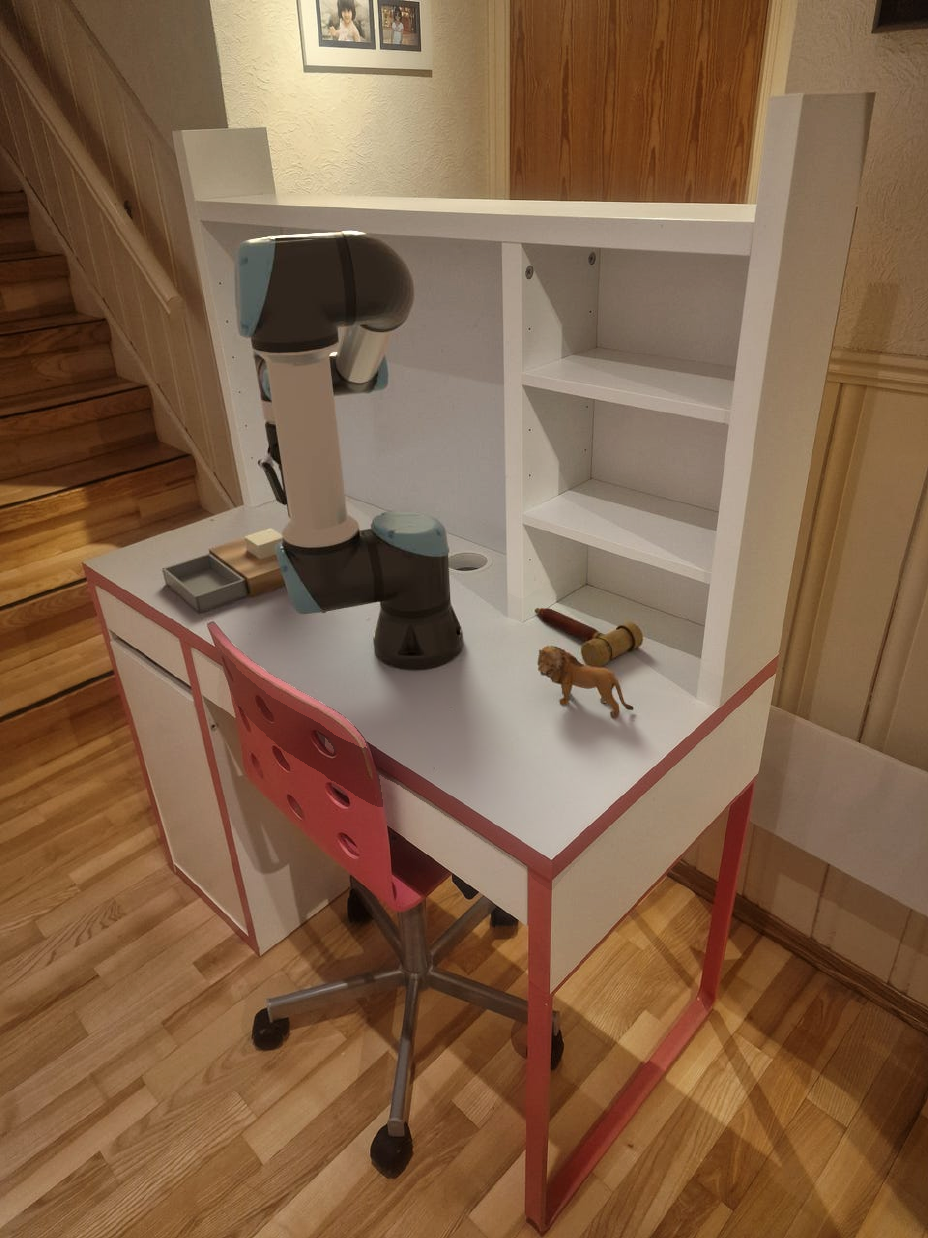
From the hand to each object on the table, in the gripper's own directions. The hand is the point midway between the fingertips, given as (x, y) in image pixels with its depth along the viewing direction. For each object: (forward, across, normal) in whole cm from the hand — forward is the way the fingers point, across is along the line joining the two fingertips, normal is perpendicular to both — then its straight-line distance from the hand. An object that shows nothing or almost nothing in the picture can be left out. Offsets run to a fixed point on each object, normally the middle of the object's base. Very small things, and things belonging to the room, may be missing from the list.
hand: (300, 531), depth 174 cm
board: (+6, +10, 0) cm, 11 cm away
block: (+2, +8, 0) cm, 8 cm away
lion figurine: (+6, -5, +75) cm, 75 cm away
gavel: (+6, -19, +61) cm, 64 cm away
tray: (+6, +22, 0) cm, 22 cm away
